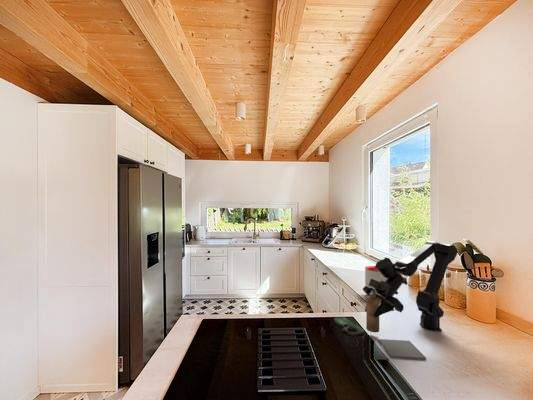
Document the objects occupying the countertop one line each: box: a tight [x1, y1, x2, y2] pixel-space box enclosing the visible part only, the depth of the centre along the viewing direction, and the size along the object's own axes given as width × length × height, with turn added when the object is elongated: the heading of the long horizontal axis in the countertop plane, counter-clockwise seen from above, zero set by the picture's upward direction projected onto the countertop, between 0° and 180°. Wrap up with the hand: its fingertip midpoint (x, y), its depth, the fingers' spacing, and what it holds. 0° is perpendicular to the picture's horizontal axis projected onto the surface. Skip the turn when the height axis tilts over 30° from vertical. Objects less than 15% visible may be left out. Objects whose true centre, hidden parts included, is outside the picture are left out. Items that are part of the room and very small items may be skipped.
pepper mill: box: [365, 294, 380, 333], centre depth 109 cm, size 5×5×14 cm
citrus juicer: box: [364, 265, 387, 293], centre depth 160 cm, size 16×17×20 cm
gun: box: [333, 316, 366, 337], centre depth 116 cm, size 16×2×10 cm
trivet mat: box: [378, 338, 427, 361], centre depth 97 cm, size 12×12×1 cm
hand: (370, 313), depth 108 cm, fingers closed on pepper mill, 5 cm apart
